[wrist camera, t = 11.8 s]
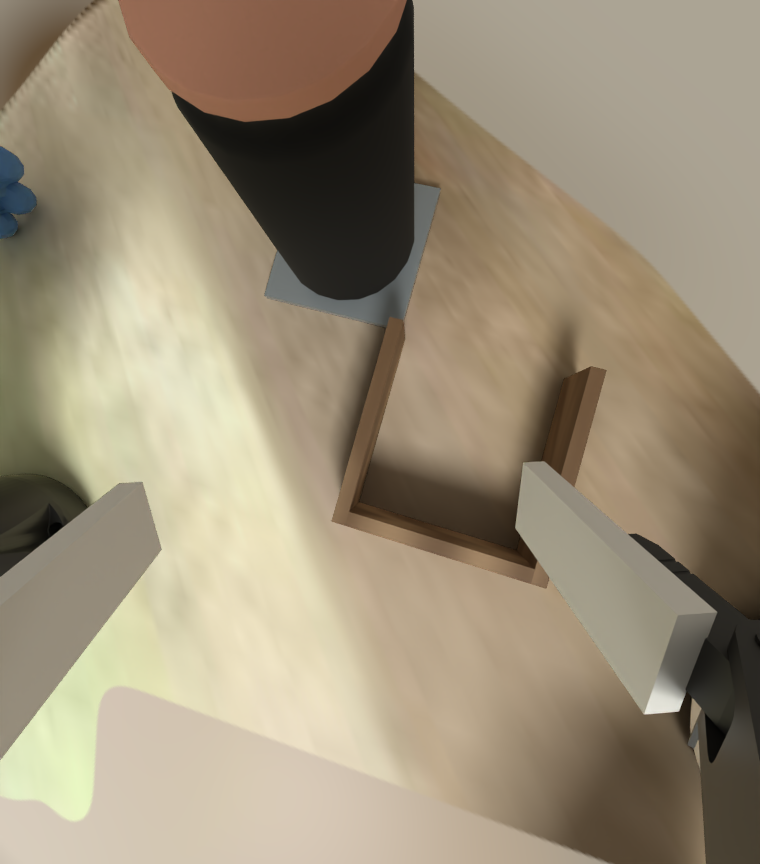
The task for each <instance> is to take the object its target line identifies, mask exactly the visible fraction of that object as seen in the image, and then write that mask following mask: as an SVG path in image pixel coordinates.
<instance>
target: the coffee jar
mask: <svg viewBox="0 0 760 864" xmlns="http://www.w3.org/2000/svg"><path fill="white" fill-rule="evenodd" d="M118 1H119V4H120V7H121V11H122V14H123V17H124V21H125V24H126V27H127V31H128V34H129V37H130V39H131V40H132V41H133V43H134V44H135V46H136V47H137V48H138V50H139V51H140V52H141V54H142V55H143V56H144V58H145V59H146V60H147V62H148V63H149V64H150V66H151V67H152V68H153V70H154V71H155V72H156V74H157V75H158V76H159V77H160V79H161V80H162V81H163V82H164V84H165V85H166V86H167V87H168V89H169V90H171V91H172V94H173V98H174V100H175V102H176V104H177V107H178V108H179V110H180V111H181V113H182V114H183V115H184V117H185V118H186V120H187V121H188V123H189V124H190V126H191V127H192V128H193V130H194V131H195V133H196V134H197V136H198V137H199V138H200V140H201V141H202V143H203V144H204V146H205V147H206V148H207V150H208V151H209V153H210V154H211V156H212V157H213V158H214V160H215V161H216V163H217V164H218V166H219V167H220V168H221V170H222V171H223V173H224V174H225V176H226V177H227V179H228V180H229V181H230V183H231V184H232V186H233V187H234V189H235V190H236V191H237V193H238V194H239V196H240V197H241V199H242V200H243V201H244V203H245V204H246V206H247V207H248V209H249V210H250V211H251V213H252V214H253V216H254V217H255V219H256V220H257V221H258V223H259V224H260V226H261V227H262V229H263V230H264V231H265V233H266V234H267V236H268V237H269V239H270V240H271V242H272V243H273V244H274V246H275V247H276V249H277V250H278V252H279V253H280V254H281V256H282V257H283V259H284V260H285V262H286V263H287V264H288V266H289V267H290V269H291V270H292V271H293V273H294V274H295V275H296V277H297V278H298V280H299V281H300V282H301V283H302V284H303V285H304V286H306V287H307V288H309V289H310V290H312V291H313V292H315V293H316V294H318V295H321V296H324V297H328V298H331V299H335V300H359V299H361V298H364V297H367V296H370V295H372V294H375V293H378V292H379V291H380V290H382V289H383V288H384V287H386V286H387V285H388V284H390V283H391V282H392V281H394V280H395V279H396V277H397V276H398V275H399V273H400V272H401V270H402V269H403V268H404V266H405V265H406V263H407V262H408V259H409V256H410V253H411V250H412V247H413V244H414V7H413V1H412V0H118Z"/></svg>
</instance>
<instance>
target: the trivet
mask: <svg viewBox="0 0 760 864" xmlns="http://www.w3.org/2000/svg"><path fill="white" fill-rule="evenodd" d="M440 190H441V188H436V187H431V186H426V185H421V184H416V183H414V244H413V247H412V250H411V253H410V256H409V259H408V262H407V263H406V265H405V266H404V268H403V269H402V270H401V272H400V273H399V275H398V276H397V277H396V279H395V280H394V281H392V282H391V283H390V284H388V285H387V286H386V287H384V288H383V289H382V290H380V291H379V292H378V293H375V294H372V295H370V296H367V297H364V298H361V299H359V300H335V299H331V298H328V297H324V296H321V295H318V294H316V293H315V292H313V291H312V290H310V289H309V288H307V287H306V286H304V285H303V284H302V283H301V282H300V281H299V280H298V278H297V277H296V275H295V274H294V273H293V271H292V270H291V269H290V267H289V266H288V264H287V263H286V262H285V260H284V259H283V257H282V256H281V254H280V253H279V252H278V250H277V253H276V257H275V260H274V264H273V267H272V270H271V274H270V277H269V281H268V284H267V288H266V291H265V295H264V296H265V297H266V298H268V299H272V300H276V301H280V302H284V303H288V304H292V305H296V306H300V307H304V308H308V309H312V310H316V311H320V312H324V313H328V314H332V315H336V316H340V317H344V318H348V319H352V320H356V321H360V322H364V323H368V324H372V325H376V326H380V327H384V328H387V324H388V321H389V317H393V318H397V319H401V320H403V322H404V319H405V316H406V312H407V309H408V305H409V302H410V298H411V295H412V291H413V288H414V284H415V280H416V277H417V273H418V270H419V266H420V263H421V259H422V256H423V252H424V249H425V245H426V242H427V238H428V235H429V231H430V228H431V224H432V220H433V217H434V213H435V210H436V206H437V203H438V199H439V196H440Z"/></svg>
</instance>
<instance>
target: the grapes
mask: <svg viewBox="0 0 760 864" xmlns="http://www.w3.org/2000/svg"><path fill="white" fill-rule="evenodd" d="M23 175H24V165H23V164H22V163H21V161H20V160H19V158H18V157H17V156H16V155H14V154H12V153H11V152H9V151H8V150H6V149H5V148H3V147H1V146H0V239H2V238H8V237H10V236H13V234H14V233H15V232H16V231H17V229H18V221H17V220H16V219H15V217H14V216H13V215H12V214H11V213H13V214H17V215H20V214H26V213H29V212H31V211H32V210H33V209H34V208H35V206H36V205H37V203H36V196H35V195H34V194H33V192H32V191H31V189H29V188H27V187H26V186H24V185H23V184H21V183H19V182H18V181H19V180H20V179H21V178H22V176H23Z"/></svg>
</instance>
